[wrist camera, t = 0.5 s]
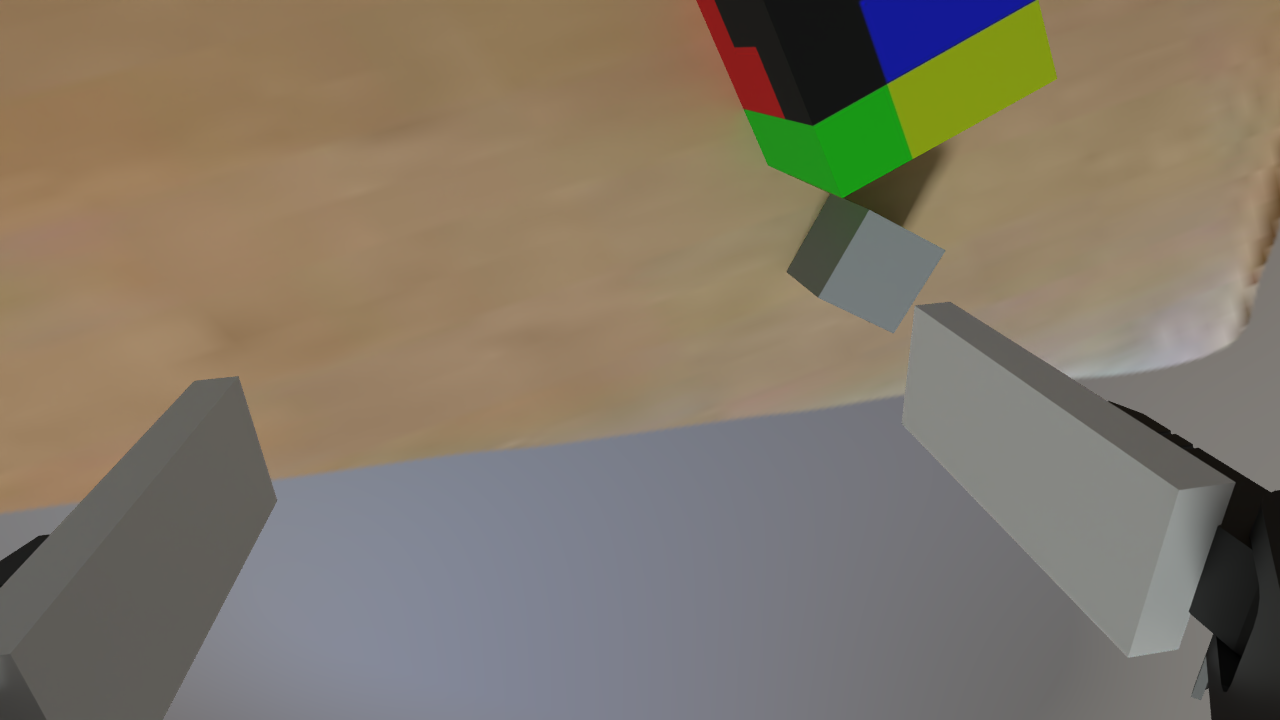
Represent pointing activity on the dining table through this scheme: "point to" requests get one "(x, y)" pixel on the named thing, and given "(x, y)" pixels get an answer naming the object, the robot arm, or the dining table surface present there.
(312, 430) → the dining table surface
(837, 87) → the puzzle toy
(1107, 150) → the dining table surface
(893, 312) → the slate grey cube
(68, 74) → the dining table surface
